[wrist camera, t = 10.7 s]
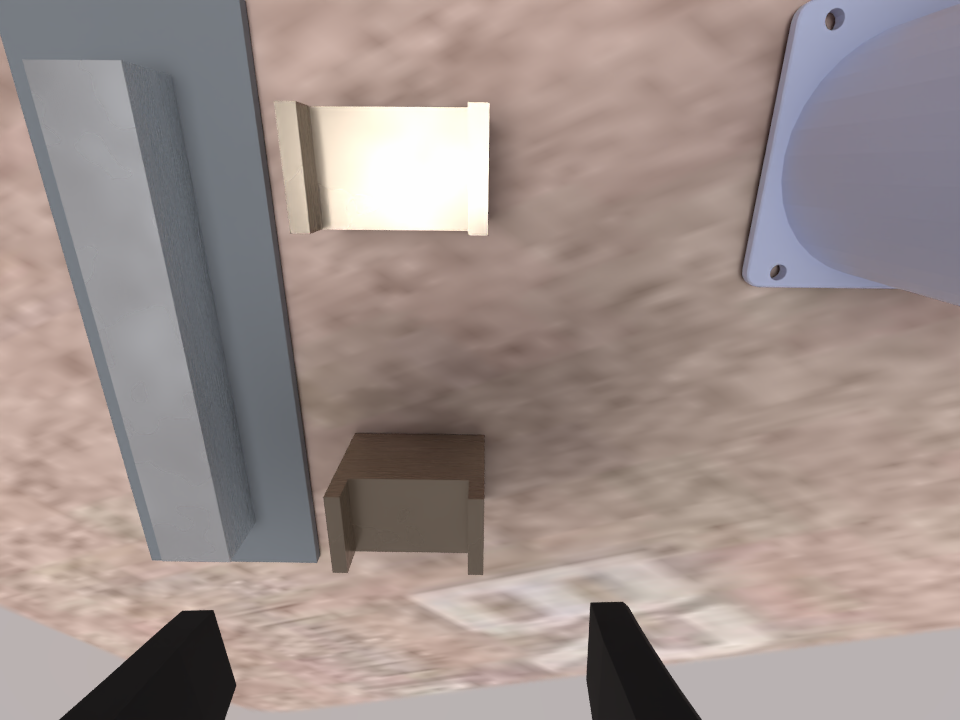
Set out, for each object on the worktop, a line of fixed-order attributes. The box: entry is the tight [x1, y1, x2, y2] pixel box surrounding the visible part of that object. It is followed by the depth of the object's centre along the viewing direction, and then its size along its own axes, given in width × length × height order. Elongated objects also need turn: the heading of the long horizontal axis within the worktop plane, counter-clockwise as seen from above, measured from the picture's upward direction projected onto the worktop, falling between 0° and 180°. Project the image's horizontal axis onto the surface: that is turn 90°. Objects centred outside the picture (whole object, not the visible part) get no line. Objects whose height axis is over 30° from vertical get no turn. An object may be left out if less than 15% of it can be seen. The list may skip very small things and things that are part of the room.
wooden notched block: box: [274, 101, 489, 235], centre depth 14 cm, size 5×3×4 cm, turn 90°
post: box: [323, 433, 485, 575], centre depth 18 cm, size 5×3×4 cm, turn 90°
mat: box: [0, 0, 320, 563], centre depth 18 cm, size 7×20×1 cm, turn 0°
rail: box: [22, 59, 256, 562], centre depth 16 cm, size 2×16×2 cm, turn 179°
